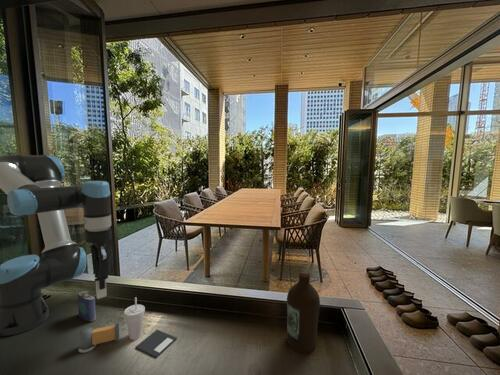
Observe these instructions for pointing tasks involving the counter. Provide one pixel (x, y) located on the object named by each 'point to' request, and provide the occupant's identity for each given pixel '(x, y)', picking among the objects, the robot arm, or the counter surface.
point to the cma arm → (98, 335)
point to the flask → (86, 307)
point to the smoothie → (134, 320)
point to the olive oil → (302, 314)
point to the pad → (156, 343)
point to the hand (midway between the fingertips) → (101, 296)
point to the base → (86, 349)
